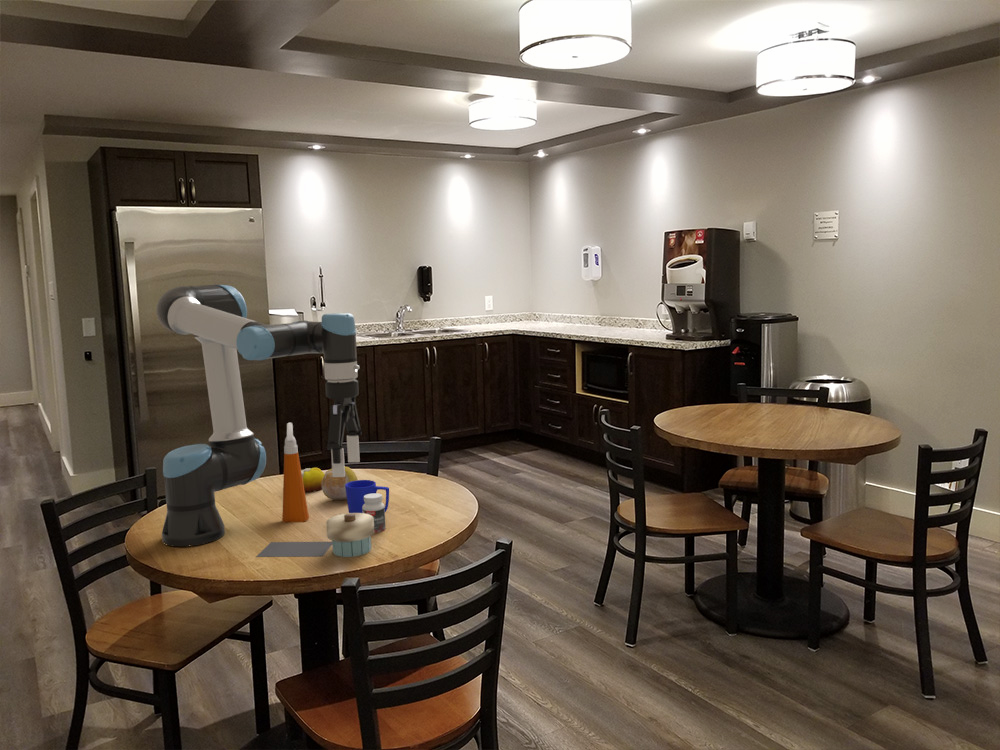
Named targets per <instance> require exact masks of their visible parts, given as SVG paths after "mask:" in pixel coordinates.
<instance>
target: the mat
mask: <svg viewBox="0 0 1000 750" xmlns="http://www.w3.org/2000/svg"><path fill="white" fill-rule="evenodd" d="M331 547H332V541H270V542H269V544H268V545H266V546H265V547H264V548H263V549H262V550H261V551H260V552H259V553H258V554H257V555H256V556H255V557H256V558H282V557H283V558H287V557H289V558H290V557H291V558H292V557H293V558H294V557H295V558H296V557H297V558H300V557H301V558H303V557H307V558H308V557H310V558H311V557H313V558H315V557H317V558H319V557H324V555H325V554H326V553H327V552H328V550H329V549H330V548H331Z"/></svg>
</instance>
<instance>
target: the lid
mask: <svg viewBox="0 0 1000 750" xmlns="http://www.w3.org/2000/svg"><path fill="white" fill-rule="evenodd" d="M325 524H326V537H327V539H329V540H330V541H332V540H333V541H338V542H351V541H358V540H362V539H366V538H368V537H370V536H371V537H372V536H373V535H374V534H375V533H374V518H373V516H371V515H369V514H365V513H349V512H348V513H342V514H338V515H337V514H336V515H335V516H332V517H329V518H328V519H327V520H326V523H325Z"/></svg>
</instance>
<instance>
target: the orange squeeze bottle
mask: <svg viewBox="0 0 1000 750" xmlns="http://www.w3.org/2000/svg"><path fill="white" fill-rule="evenodd" d="M293 429H294V425H293V422H288V423H286V437H285V439H284V446H283V449H284V450H283V453H284V454H283V482H282V483H283V484H282V485H283V486H282V487H283V488H282V519H281V521H282V522H283V523H305V522H306V521H309V519H310V515H309V510H308V503H307V497H306V493H305V491H304V485H303V479H302V473H301V470H302V468H301V462H300V457H299V451H298V447H299V446H298V444H297V440H296V438H295V436H294V430H293Z"/></svg>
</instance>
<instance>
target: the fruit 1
mask: <svg viewBox="0 0 1000 750" xmlns="http://www.w3.org/2000/svg"><path fill="white" fill-rule="evenodd" d="M301 473H302V479H303V485H304V491H305V494H308V493H315V492H318V491H321V490H322V480H323V477H324V475H325V473H324V472H323V470H321V469H320V468H318V467H312V468H310V467H309V468H306V467H305V469H301Z"/></svg>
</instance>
